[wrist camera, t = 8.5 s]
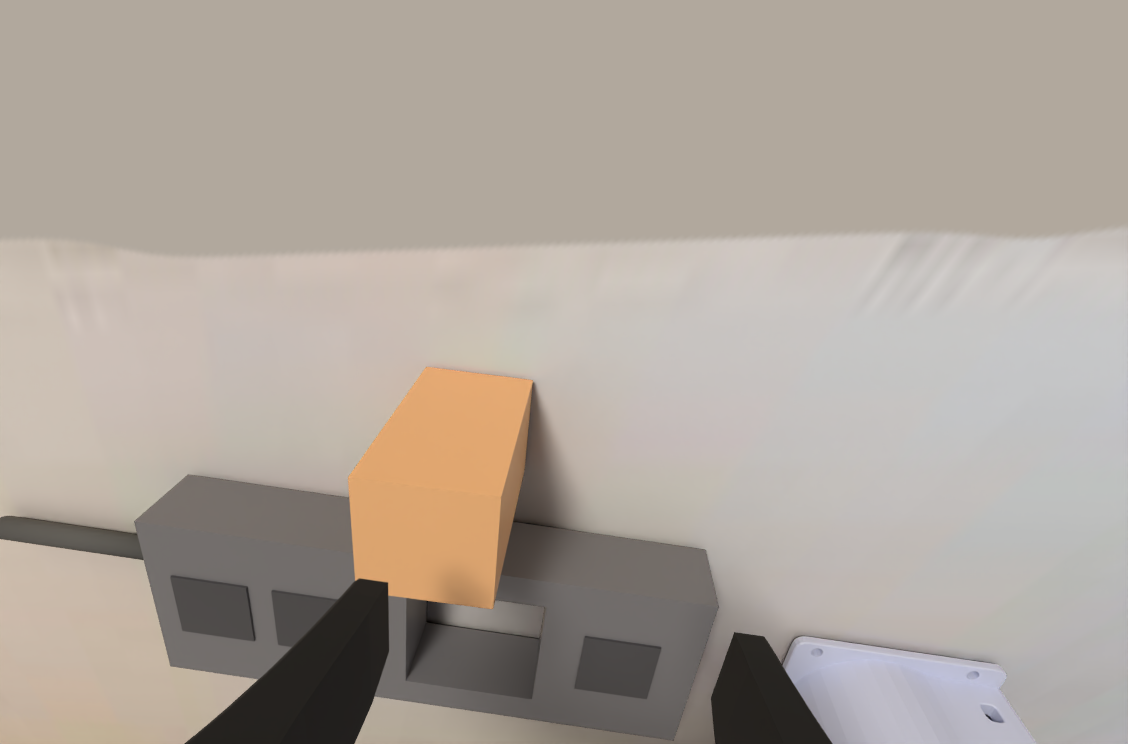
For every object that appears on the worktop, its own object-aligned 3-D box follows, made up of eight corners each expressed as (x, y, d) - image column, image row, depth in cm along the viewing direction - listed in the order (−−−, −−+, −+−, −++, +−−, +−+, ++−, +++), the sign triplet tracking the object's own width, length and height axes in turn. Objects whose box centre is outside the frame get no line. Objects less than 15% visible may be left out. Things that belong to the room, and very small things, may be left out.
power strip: (705, 549, 24) (718, 609, 21) (666, 677, 27) (673, 742, 24) (-22, 443, 24) (-107, 488, 21) (30, 583, 27) (-36, 638, 24)
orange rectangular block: (532, 380, 21) (501, 497, 14) (524, 469, 22) (493, 609, 16) (426, 366, 21) (347, 477, 15) (426, 456, 23) (355, 591, 16)
